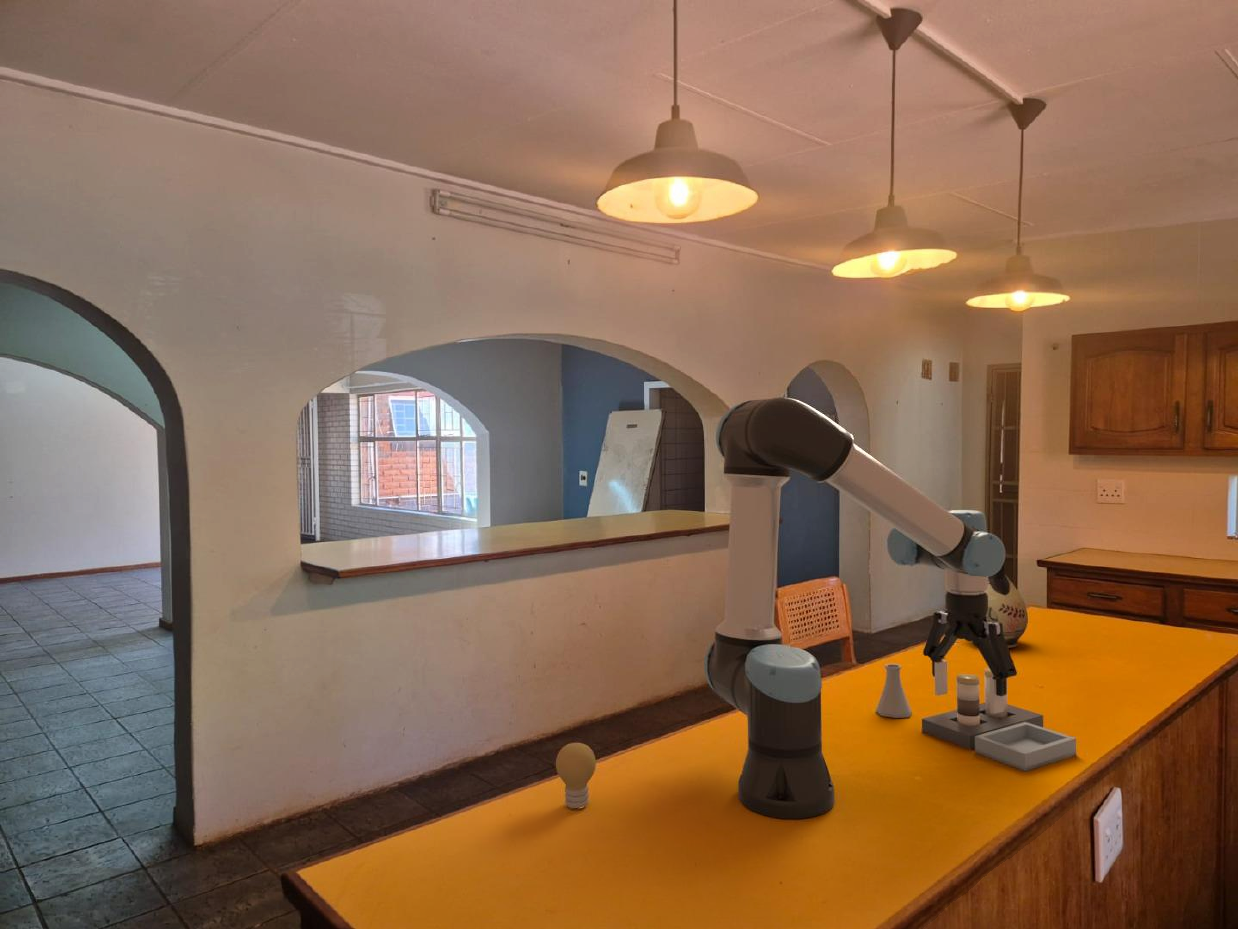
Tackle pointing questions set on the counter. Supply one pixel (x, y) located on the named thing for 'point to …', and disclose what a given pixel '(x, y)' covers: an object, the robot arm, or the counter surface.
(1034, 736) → the parts tray
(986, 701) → the cylinder
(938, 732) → the block
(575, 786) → the light bulb
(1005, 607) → the ceramic jug
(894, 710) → the flask
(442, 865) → the counter surface
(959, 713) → the cylinder
